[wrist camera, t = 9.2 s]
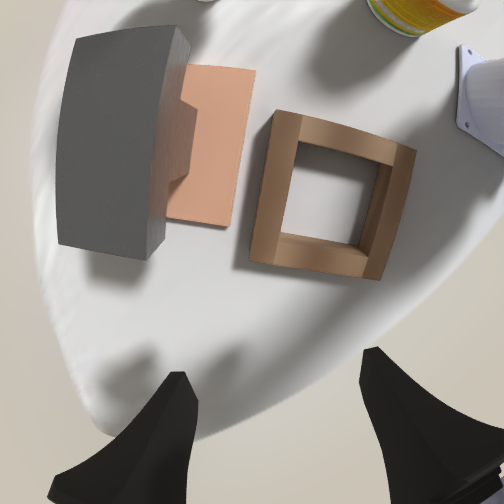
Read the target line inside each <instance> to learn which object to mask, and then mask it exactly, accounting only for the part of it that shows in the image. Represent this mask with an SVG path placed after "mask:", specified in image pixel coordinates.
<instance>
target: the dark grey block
mask: <svg viewBox="0 0 504 504" xmlns="http://www.w3.org/2000/svg"><path fill="white" fill-rule="evenodd" d="M190 49H191V45H190V44H189V42H188V41H187V39H186V38H185V36H184V35H183V34H182V32H181V31H180V29H179V28H178V27H177V25H168V26H152V27H141V28H132V29H125V30H118V31H112V32H106V33H101V34H96V35H91V36H86V37H82V38H78V39H76V41H75V45H74V48H73V52H72V56H71V60H70V64H69V68H68V72H67V77H66V82H65V87H64V92H63V98H62V105H61V112H60V119H59V128H58V138H57V152H56V219H57V233H58V243H59V244H60V245H65V246H70V247H75V248H80V249H86V250H91V251H96V252H101V253H107V254H112V255H117V256H123V257H128V258H134V259H140V260H145V261H147V259H148V258H149V257H150V256H151V255H152V253H153V252H154V251H155V250H156V249H157V248H158V246H159V245H160V244H161V243H162V242H163V241H164V239H165V229H166V214H167V200H168V189H169V182H171V181H173V180H175V179H178V178H180V177H182V176H184V175H186V174H188V173H189V169H190V161H191V154H192V146H193V139H194V132H195V126H196V120H197V113H198V109H196V108H194V107H193V106H191V105H189V104H188V103H186V102H184V101H182V100H181V99H180V98H181V93H182V87H183V82H184V77H185V72H186V67H187V63H188V58H189V54H190Z"/></svg>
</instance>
